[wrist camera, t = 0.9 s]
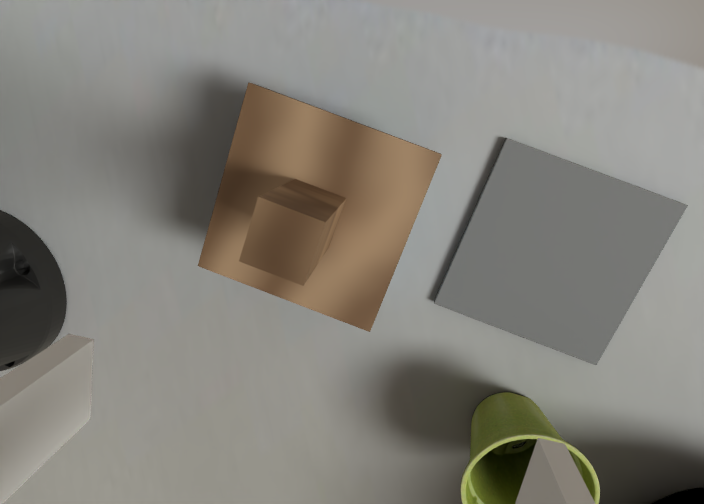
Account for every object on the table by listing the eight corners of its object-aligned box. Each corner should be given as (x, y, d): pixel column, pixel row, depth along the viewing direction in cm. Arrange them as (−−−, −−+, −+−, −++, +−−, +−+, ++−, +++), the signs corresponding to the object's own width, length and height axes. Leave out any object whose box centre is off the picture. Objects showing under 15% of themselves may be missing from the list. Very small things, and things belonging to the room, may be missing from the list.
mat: (434, 300, 40) (434, 303, 40) (505, 138, 36) (507, 138, 36) (593, 361, 40) (596, 365, 39) (683, 204, 36) (687, 205, 35)
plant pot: (431, 402, 43) (436, 470, 34) (529, 354, 40) (560, 414, 32) (484, 482, 44) (501, 566, 36) (582, 440, 42) (624, 519, 34)
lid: (203, 262, 35) (135, 307, 27) (253, 83, 32) (193, 68, 23) (370, 326, 35) (357, 393, 26) (440, 153, 31) (451, 165, 23)
